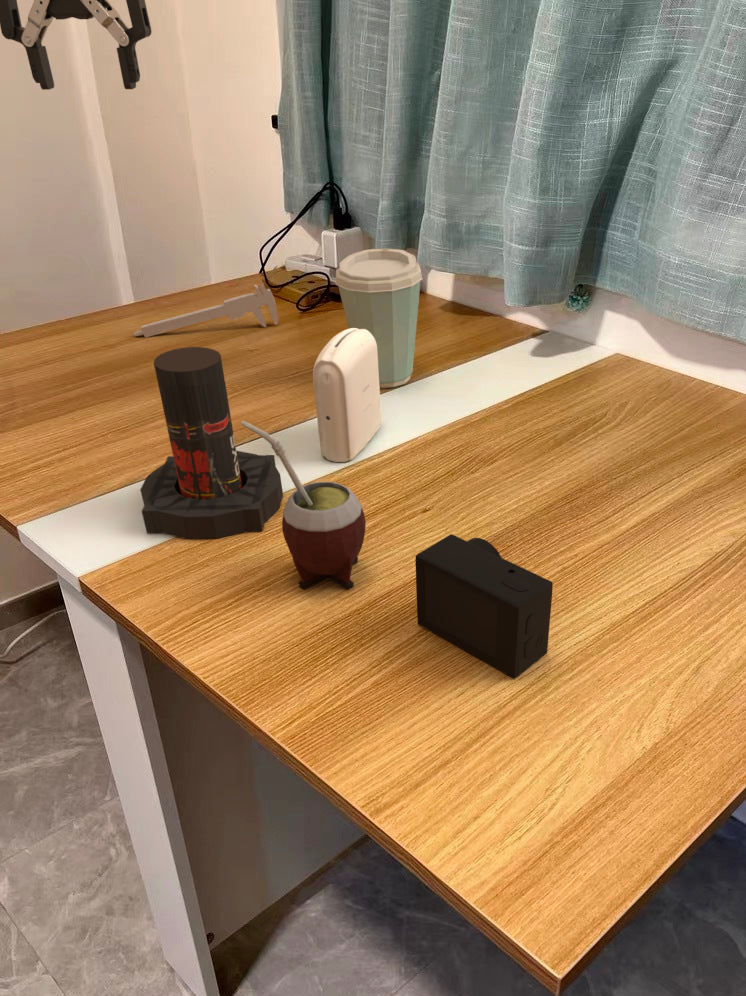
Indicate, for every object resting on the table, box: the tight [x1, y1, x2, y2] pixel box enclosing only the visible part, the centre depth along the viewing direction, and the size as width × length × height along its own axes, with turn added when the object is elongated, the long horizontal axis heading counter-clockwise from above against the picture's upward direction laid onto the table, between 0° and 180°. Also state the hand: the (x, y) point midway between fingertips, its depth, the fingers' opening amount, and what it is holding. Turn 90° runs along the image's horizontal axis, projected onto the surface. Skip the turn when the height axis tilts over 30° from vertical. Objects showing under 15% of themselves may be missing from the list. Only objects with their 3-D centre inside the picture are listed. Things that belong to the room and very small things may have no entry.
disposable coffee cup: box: [335, 248, 424, 389], centre depth 110 cm, size 11×11×15 cm
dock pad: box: [140, 450, 284, 540], centre depth 88 cm, size 13×13×2 cm
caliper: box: [133, 281, 279, 338], centre depth 127 cm, size 20×1×6 cm, turn 103°
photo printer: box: [312, 328, 382, 463], centre depth 96 cm, size 10×4×12 cm, turn 162°
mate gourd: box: [241, 419, 367, 591], centre depth 74 cm, size 8×8×15 cm
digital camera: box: [415, 533, 554, 680], centre depth 70 cm, size 10×5×7 cm, turn 48°
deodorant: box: [153, 346, 242, 500], centre depth 85 cm, size 6×6×15 cm
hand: (89, 88), depth 92 cm, fingers open, 8 cm apart
